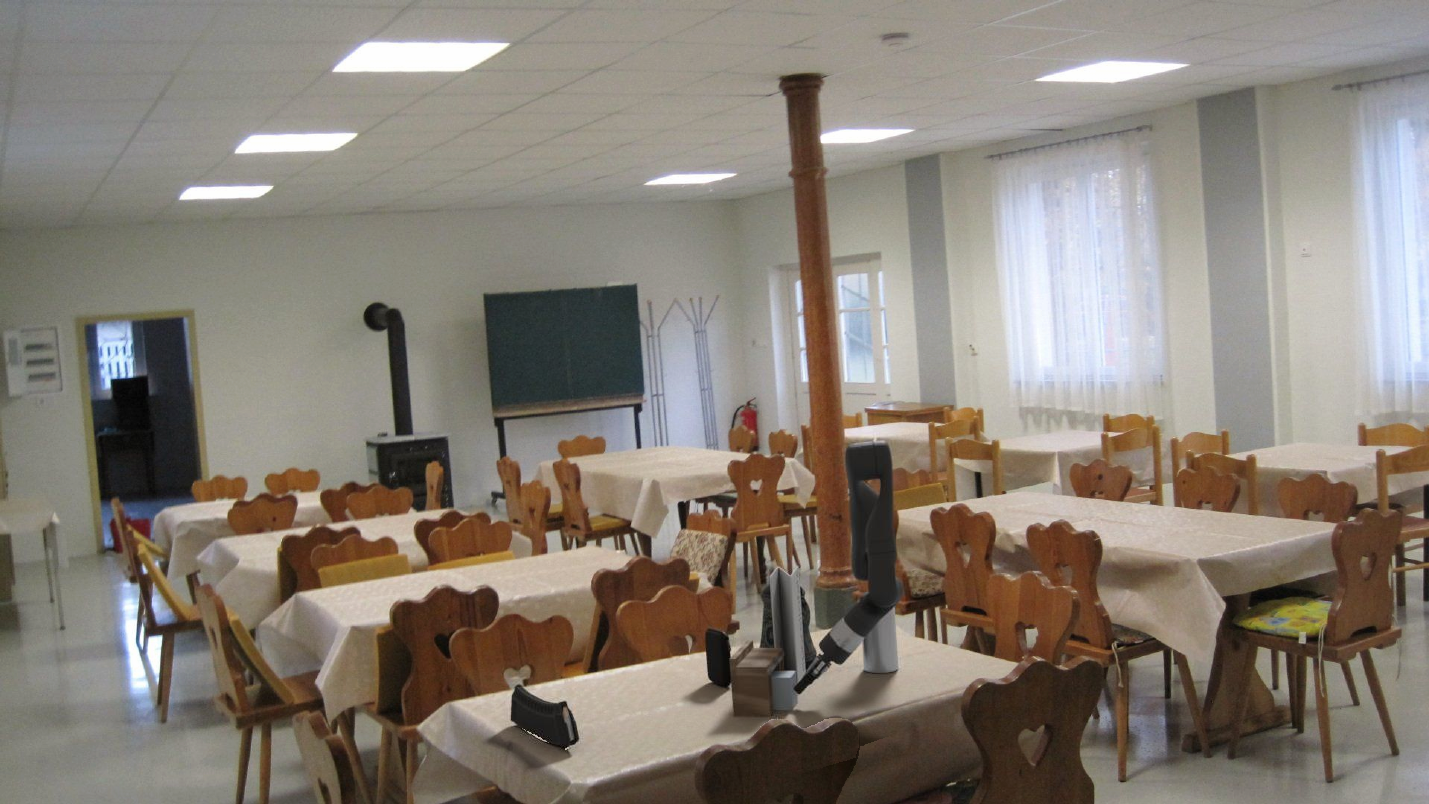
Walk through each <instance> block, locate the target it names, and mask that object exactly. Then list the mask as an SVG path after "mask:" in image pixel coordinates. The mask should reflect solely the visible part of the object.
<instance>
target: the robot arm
mask: <svg viewBox="0 0 1429 804" xmlns="http://www.w3.org/2000/svg"><path fill="white" fill-rule="evenodd" d="M844 461H845V471H846V478H847V484H848V485H847V486H848V494H849V495H848V498H849V499H848V500H849V501H848V503H849V505H848V506H849V510H848V511H849V522H850V523H849V524H850V532H851V552H850V553H851V557H850V559H851V561H850V564H851V571H852V574H853V577H854V578H855V579H856V580H857V581H863V582H866V581H867V587H868V588H867V590H868V591H866V592H864V593H862V594H861V595H859V598H858V600H859V601H858V602H857V603H856V604H854V605H853V606H852V607H851V608H850V609H849V611H848V612H847V613H846V614H845V615H844V616H843V617H842V618H841V619H840V620H839V621H837V622H836V624H834V625H833V627H832V628H831V629H830V630H829V631H828V632H827V633H826V634H825V636H824V637H823V638H822V639H821V640H820V641H819V643H818V647H819V649H820V652H822V653H823V654H822V653H817V657H816V658H815V660H814V661H813V663H812V664H811V665H810V666H809V668H808V669H807V670H806V673H805V674H804V676H803V678H802V679H801V680H800V681H799V682H798V683H797V685H796V686H795V687H794V690H795V691H796V692H797V695H801V694H803V692H804V691H805V690H806V689H807V688H808V686H811V685H812V684H813V683H814V682H815V681H816V680H818V679H820V678H821V676H822V675H823V674H824V673H826V672H827V671H829V669H830V668H831V666H832V664H833V663H834V664H835V665H839V666H840V665H843V664H844V663H845V662H846V661H847V660H848V658H850V657H851V655H852V654H853V653H854V652H855V651H856V650H857V648H858V647H859V646H860V645H861V644H862V660H863V661H862V662H863V670H864V671H865V672H868V673H872V674H886V673H887V674H888V673H893V672H895V671H898V670H899V656H898V653H899V652H898V639H897V624H896V623H897V622H896V610H895V607H896V606H897V605H898V604H899V603H900V601H901V600H902V598H903V597H904V593H905V588H904V584H903V582H902V581H901V580H900V579H899V578H898V577H897V576H896V563H897V560H898V552H897V543H896V535H895V527H894V472H893V458H892V453H891V448H890V445H889V443H888V442H887V441H886V440H883V439H882V440H881V439H880V440H872V441H863V442H855V443H851V444H849V445H847V447H846V450H845V452H844ZM871 480H879V481H880V482H879V483H880V484H879V485H880V490H879V493H878V491H876V490H875V489H874V488H872V487H871V486H870V485H868V484H867V483H866V482H865V481H871ZM831 662H833V663H831Z"/></svg>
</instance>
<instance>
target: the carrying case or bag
mask: <svg viewBox="0 0 1429 804" xmlns="http://www.w3.org/2000/svg"><path fill="white" fill-rule="evenodd" d="M704 641H705V643H704V644H705V656H706V671H707V672H706V673H707V677H708V680H709V681H711V682H712V684H713V683H714V684H716V685H719V686H721V687H724V688H728V687H731V674H730V660H729V659H730V658H731V657H732V654H731V651H732V648H731V647H732V646H731V643H730V637H729V634H727V633H726V632H725V631H723V630H720V629H716V628H714V627H713V628H712V627H710V628H708V629H706V632H705V634H704Z"/></svg>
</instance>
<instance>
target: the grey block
mask: <svg viewBox="0 0 1429 804" xmlns="http://www.w3.org/2000/svg"><path fill="white" fill-rule="evenodd" d="M771 675H772V690H773V704H774V711H794V709H795V708H796V706H797V705H798V704H799V700H798V698H799V697H798V693H797V692H796V691H795V690H794V687H795V686H796V685H797V682H796V671H772V672H771Z"/></svg>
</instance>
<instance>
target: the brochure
mask: <svg viewBox="0 0 1429 804" xmlns="http://www.w3.org/2000/svg"><path fill="white" fill-rule="evenodd" d="M799 567H800V566H799V565H796V566H795V569H794V570H793V572H792V573H791V574H789V573H788V572H786V571H785V570H784V569H783V568H781V567H780V566H779V565H777V567H776V568H775V569H774V570H773V572H772V573H771V574H770V576H769V584H770V591H771V606H772V620H773V635H774V648H782V649H783V652H785V656H784V657H783V664H784V671H796V682H797V683H798V682H799V681H800V680H801V679H802V678H803V676H804V674H805V673H807V670H806V669H805V655H804V640H803V625H802V611H801V596H800V586H801V584H800V568H799Z"/></svg>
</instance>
